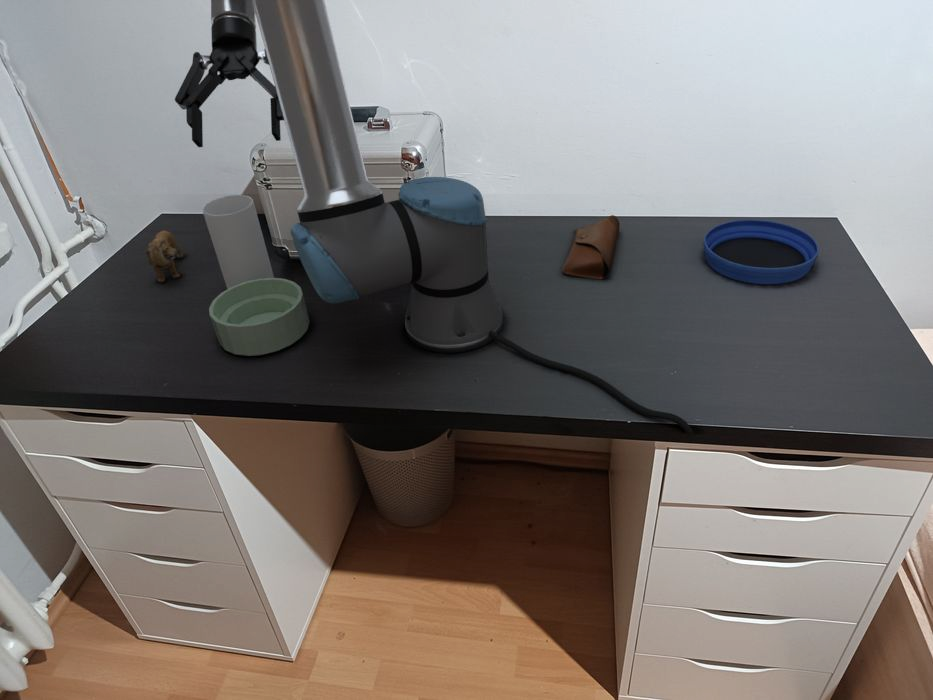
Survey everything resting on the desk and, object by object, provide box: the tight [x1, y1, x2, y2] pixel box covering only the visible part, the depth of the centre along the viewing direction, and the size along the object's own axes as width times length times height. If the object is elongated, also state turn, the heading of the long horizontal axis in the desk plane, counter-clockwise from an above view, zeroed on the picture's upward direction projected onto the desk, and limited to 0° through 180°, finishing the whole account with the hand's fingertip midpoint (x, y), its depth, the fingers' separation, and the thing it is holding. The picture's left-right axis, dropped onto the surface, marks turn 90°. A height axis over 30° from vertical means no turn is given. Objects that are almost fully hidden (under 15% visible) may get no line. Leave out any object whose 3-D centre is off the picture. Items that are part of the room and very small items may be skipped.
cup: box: [202, 194, 275, 290], centre depth 117 cm, size 8×8×16 cm
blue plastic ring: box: [702, 219, 819, 285], centre depth 116 cm, size 18×18×4 cm
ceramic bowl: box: [208, 277, 310, 357], centre depth 108 cm, size 14×14×6 cm
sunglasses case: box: [561, 214, 621, 280], centre depth 122 cm, size 18×7×7 cm
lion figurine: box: [145, 230, 184, 283], centre depth 127 cm, size 15×5×9 cm, turn 22°
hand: (236, 140), depth 117 cm, fingers open, 13 cm apart
